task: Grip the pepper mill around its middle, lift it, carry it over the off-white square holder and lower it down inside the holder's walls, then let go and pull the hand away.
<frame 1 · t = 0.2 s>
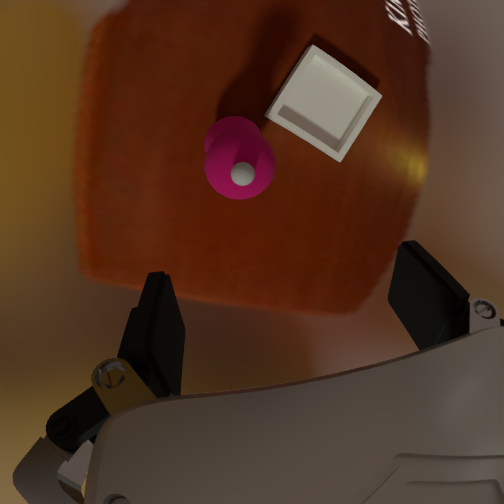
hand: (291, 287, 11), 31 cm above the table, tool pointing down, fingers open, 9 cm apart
pepper mill: (232, 139, 38), on the table
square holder: (322, 103, 36), on the table
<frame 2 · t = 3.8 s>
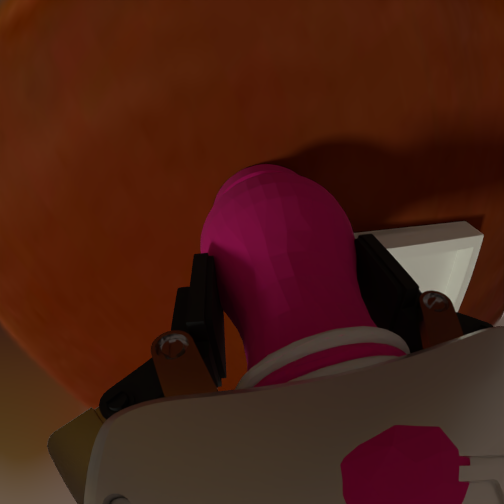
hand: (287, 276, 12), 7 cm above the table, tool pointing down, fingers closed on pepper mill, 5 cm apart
pepper mill: (264, 212, 18), on the table, touching gripper
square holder: (399, 291, 22), on the table
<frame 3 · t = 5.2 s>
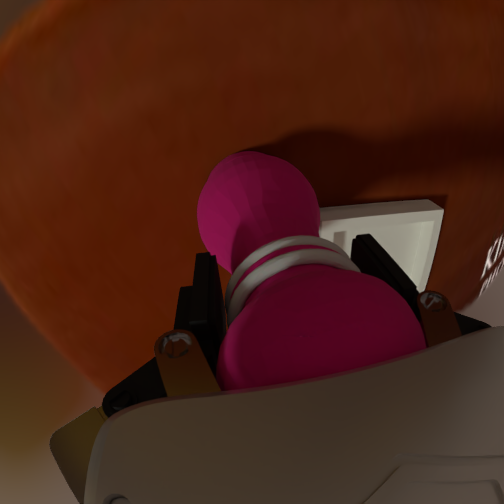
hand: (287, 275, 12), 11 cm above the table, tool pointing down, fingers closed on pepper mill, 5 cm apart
pepper mill: (247, 191, 21), on the table, touching gripper
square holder: (369, 262, 26), on the table
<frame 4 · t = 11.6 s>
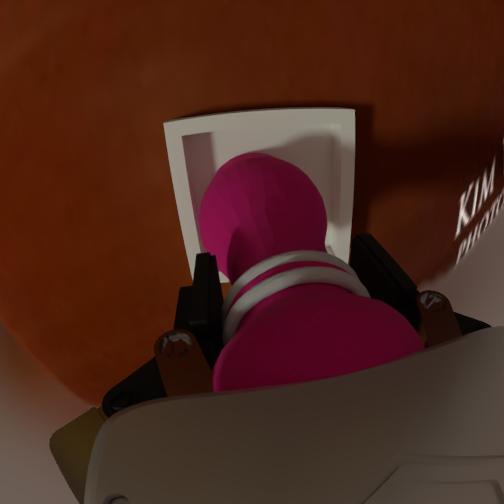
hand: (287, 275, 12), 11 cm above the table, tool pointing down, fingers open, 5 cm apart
pepper mill: (253, 194, 21), point 1 cm above the table, touching gripper, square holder
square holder: (264, 190, 21), on the table
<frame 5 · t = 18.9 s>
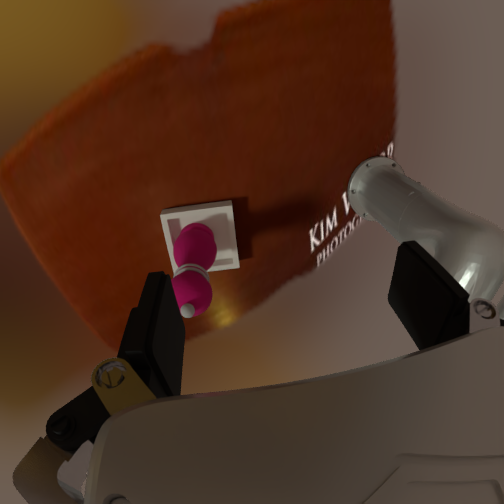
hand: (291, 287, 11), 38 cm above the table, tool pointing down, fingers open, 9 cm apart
pepper mill: (196, 238, 51), point 1 cm above the table, touching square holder
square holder: (201, 235, 52), on the table
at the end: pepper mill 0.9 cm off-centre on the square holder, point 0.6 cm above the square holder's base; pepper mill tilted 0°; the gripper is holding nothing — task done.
